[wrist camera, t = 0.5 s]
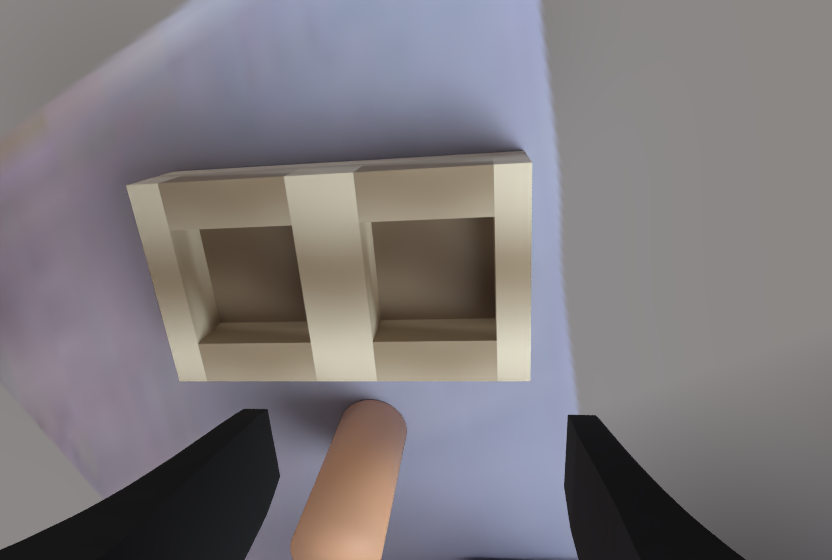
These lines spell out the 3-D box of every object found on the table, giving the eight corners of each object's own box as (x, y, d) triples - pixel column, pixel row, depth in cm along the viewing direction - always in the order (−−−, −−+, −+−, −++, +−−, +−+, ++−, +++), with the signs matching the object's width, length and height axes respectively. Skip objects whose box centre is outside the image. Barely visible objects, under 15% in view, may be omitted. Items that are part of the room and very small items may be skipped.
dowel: (409, 456, 25) (384, 590, 18) (344, 454, 25) (297, 585, 18) (404, 399, 23) (375, 521, 17) (336, 399, 24) (283, 517, 17)
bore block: (523, 342, 22) (530, 381, 19) (215, 345, 23) (179, 381, 21) (524, 150, 19) (532, 162, 16) (173, 171, 21) (125, 185, 18)
